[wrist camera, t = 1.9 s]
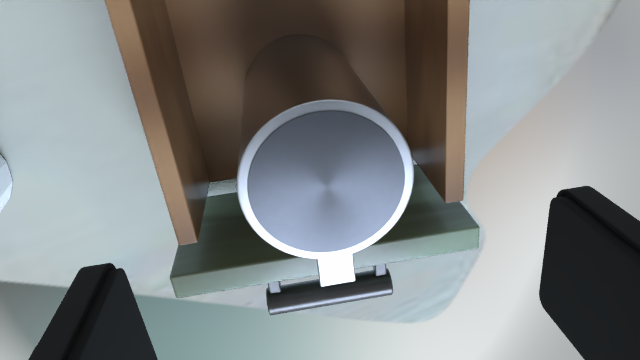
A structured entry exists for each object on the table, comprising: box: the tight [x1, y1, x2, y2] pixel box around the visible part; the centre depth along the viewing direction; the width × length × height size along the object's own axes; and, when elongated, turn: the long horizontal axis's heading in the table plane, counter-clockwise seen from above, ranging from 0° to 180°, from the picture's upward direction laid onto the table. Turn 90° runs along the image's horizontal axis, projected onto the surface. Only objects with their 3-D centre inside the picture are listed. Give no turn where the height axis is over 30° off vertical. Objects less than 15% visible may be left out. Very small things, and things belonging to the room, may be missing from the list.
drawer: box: [105, 0, 479, 315], centre depth 21 cm, size 20×13×7 cm
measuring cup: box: [237, 35, 414, 286], centre depth 18 cm, size 6×5×10 cm
